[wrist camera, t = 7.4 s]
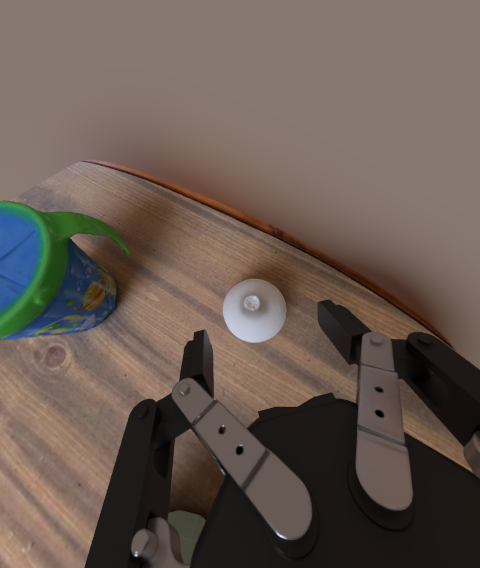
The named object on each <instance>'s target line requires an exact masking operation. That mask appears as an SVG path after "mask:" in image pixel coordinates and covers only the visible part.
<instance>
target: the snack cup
mask: <svg viewBox="0 0 480 568" xmlns="http://www.w3.org/2000/svg"><path fill="white" fill-rule="evenodd" d="M77 233H82V234H91V235H102V236H109V237H111V238H112V239H113V240H114V241H115V242H116V243H117V244H118V245H119V246H120V247H121V248H122V249H123V251H124V252H125V253H126V254H127V255H129V254H130V252H129V250H128V248H127V246H126V245H125V243H124V242H123V241H122V239H121V238H120V237H119V235H118V234H117V233H116V232H115V230H114V229H113V228H112V227H110V226H109V225H107V224H105V223H104V222H102V221H100V220H98V219H95V218H93V217H90V216H87V215H83V214H79V213H73V212H47V213H45V212H40V211H37V210H35V209H33V208H31V207H29V206H27V205H25V204H22V203H18V202H14V201H0V340H6V339H20V338H28V337H29V338H31V337H38V336H51V335H61V334H69V333H78V332H83V331H87V330H89V329H90V328H93V327H96V326H97V325H99V324H100V323H101V322H102V321H103V320H104V319H105V318H106V316H107V315H108V314H109V313H111V311H112V310H113V309H114V308H115V300H116V295H117V288H116V283H115V279H114V278H113V276H112V275H111V274H110V273H109V272H108V271H107V270H106V269H105V268H103V267H102V266H101V265H100V264H99V263H97V262H96V261H95V260H94V259H92V258H91V257H90V256H88V255H87V254H86V253H85V252H84V251H83V250H82V249H80V248H79V247H78V246H77V245H76V244H75V243H74V242H73V241H72V239H71V238H70V237H72V236H73V235H75V234H77Z"/></svg>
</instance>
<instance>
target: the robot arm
mask: <svg viewBox="0 0 480 568" xmlns="http://www.w3.org/2000/svg"><path fill="white" fill-rule="evenodd" d="M318 323H319V325H320V327H321V329H322V330H323V331H324V333H325V334H326V335H327V337H328V338H329V339H330V341H331V342H332V343H333V345H334V346H335V347H336V348H337V350H338V351H339V352H340V354H341V355H342V356H343V358H344V359H345V360H346V362H347V363H348V364H349V365H351V364H355V363H356V364H357V365H358V376H357V390H356V402H355V403H354V402H351V401H348V400H344V399H336V398H335V397H334V395H333V393H328V394H324V395H320V396H316V397H313V398H312V399H310V400H308V401H307V402H305V403H303V404H302V405H300V406H298V407H273V408H270V409H266V410H262V411H258V413H259V418H258V419H256V420H255V421H254V422H253V423H251V424H250V426H249V427H248V428H246V427H245V426H244V425H243V424H242V423H241V422H240V421H239V420H238V419H237V418H236V417H235V416H234V415H233V414H232V413H231V412H230V411H229V410H228V409H227V408H226V407H225V406H224V405H223V404H222V403H221V402H219V401H218V400H214V379H213V350H212V345H211V343H210V340H209V337H208V334H207V332H206V330H201V331H197V332H194V339H193V340H192V341H188V343H187V344H186V346H185V348H184V355H183V361H182V366H181V373H180V379H179V382H178V383H177V384H176V385H175V386H174V388H173V390H172V393H170V394H169V395H168V396H166V397H164V398H162V399H161V400H159V401H157V402H155V401H154V400H153V399H146V400H143V401H141V402H140V403H138V404H137V405H136V406H135V407H134V408H133V410H132V411H131V413H130V415H129V418H128V422H127V425H126V428H125V432H124V435H123V439H122V442H121V445H120V449H119V452H118V456H117V459H116V462H115V466H114V469H113V473H112V476H111V479H110V483H109V486H108V490H107V493H106V496H105V500H104V503H103V506H102V510H101V513H100V517H99V520H98V523H97V527H96V530H95V534H94V537H93V540H92V544H91V547H90V551H89V554H88V557H87V561H86V564H85V568H480V370H479V369H478V368H477V367H475V366H474V365H473V364H471V363H470V362H469V361H467V360H466V359H465V358H463V357H462V356H461V355H459V354H458V353H456V352H455V351H454V350H452V349H451V348H450V347H448V346H447V345H446V344H444V343H443V342H442V341H440V340H439V339H438V338H436V337H434V336H432V335H430V334H427V333H423V332H413V333H410V334H409V335H408V337H407V340H401V339H389V338H388V337H387V336H385V335H383V334H381V333H377V332H372V331H371V330H370V329H369V328H368V327H366V326H365V325H364V324H363V323H362V322H361V321H360V320H359V319H358V318H356V316H355V315H353V314H352V313H351V312H350V311H349V310H348V309H347V308H345V307H343V306H341V305H335V304H334V303H333V302H332V301H331V300H329V299H328V300H324V301H320V302H318ZM398 379H403V380H404V381H405V382H406V383H407V384H408V385H409V386H410V388H411V389H412V390H413V391H414V392H415V393H416V394H417V395H418V396H419V398H420V399H421V400H422V401H423V402H424V403H425V404H426V405H427V406H428V408H429V409H430V410H431V411H432V412H433V413H434V414H435V415H436V417H437V418H438V419H439V420H440V421H441V422H442V423H443V424H444V425H445V427H446V428H447V429H448V430H449V431H450V432H451V433H452V434H453V435H454V437H455V438H456V439H457V440H458V441H459V442H460V443H461V444H462V445H463V447H464V449H463V453H464V457H465V459H466V461H467V463H468V464H469V465H470V467H471V469H472V472H473V473H474V474H473V473H472V472H470V471H469V470H467V469H466V468H464V467H462V466H461V465H459V464H457V463H456V462H454V461H452V460H451V459H449V458H447V457H446V456H444V455H442V454H441V453H439V452H437V451H435V450H434V449H432V448H430V447H429V446H427V445H425V444H424V443H422V442H420V441H419V440H417V439H415V438H414V437H412V436H410V435H409V434H407V433H405V432H404V428H403V418H402V409H401V399H400V390H399V380H398ZM190 428H191V430H192V431H193V432H194V434H195V435H196V437H197V438H198V439H199V441H200V442H201V443H202V445H203V446H204V448H205V449H206V450H207V452H208V453H209V455H210V456H211V458H212V459H213V461H214V462H215V464H216V465H217V466H218V468H219V469H220V471H221V472H222V473H223V475H224V476H225V477H224V480H223V482H222V484H221V487H220V489H219V491H218V493H217V496H216V498H215V500H214V503H213V505H212V507H211V510H210V512H209V514H208V517H207V519H206V521H205V524H204V526H203V528H202V531H201V533H200V535H199V538H198V540H197V542H196V545H195V548H194V551H193V554H192V558H191V562H190V564H185V563H184V561H183V559H182V556H181V548H180V537H179V534H178V532H177V530H176V529H175V528H174V527H173V526H172V525H171V524H170V523H168V512H169V501H170V489H171V478H172V466H173V455H174V443H175V438H176V437H178V436H179V435H181V434H182V433H184V432H185V431H187V430H189V429H190Z"/></svg>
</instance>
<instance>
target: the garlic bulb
mask: <svg viewBox="0 0 480 568" xmlns="http://www.w3.org/2000/svg"><path fill="white" fill-rule="evenodd" d="M286 313H287V308H286V303H285V300H284V297H283V295H282V294H281V292H280V291H279V290H278V289H277V288H276V287H275V286H274V285H272V284H271V283H269V282H267V281H265V280H261V279H247V280H243V281H241V282H239V283H237V284H236V285H235V286H233V287H232V288H231V289H230V291H229V292H228V294H227V295H226V298H225V300H224V305H223V315H224V320H225V322H226V325H227V326H228V328H229V329H230V331H231V332H232V333H233V334H234V335H235V336H236V337H238V338H239V339H241V340H243V341H247V342H251V343H258V342H263V341H266V340H268V339H270V338H272V337H274V336H275V335H276V334H277V333H278V332H279V331H280V330H281V328H282V326H283V325H284V322H285V319H286Z"/></svg>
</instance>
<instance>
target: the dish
mask: <svg viewBox="0 0 480 568" xmlns="http://www.w3.org/2000/svg"><path fill="white" fill-rule="evenodd" d="M205 521H206V520H205V519H204V518H203V517H202V516H200V515H198V514H194V513H190V512H186V511H182V510H178V511H174V512H170V513H168V523H170V524H171V525H172V526H173V527H174V528H175V529H176V530H177V532H178V534H179V537H180V548H181V556H182V559H183V561H184V563H185V564H190V562H191V558H192V554H193V551H194V548H195V545H196V542H197V540H198V538H199V535H200V533H201V531H202V528H203V526H204V524H205Z"/></svg>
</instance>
